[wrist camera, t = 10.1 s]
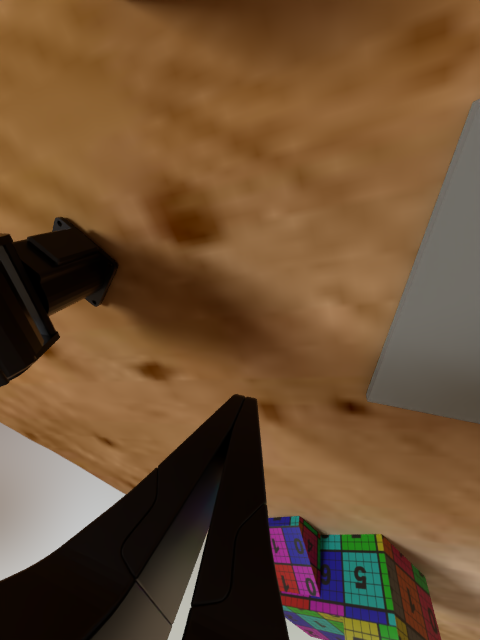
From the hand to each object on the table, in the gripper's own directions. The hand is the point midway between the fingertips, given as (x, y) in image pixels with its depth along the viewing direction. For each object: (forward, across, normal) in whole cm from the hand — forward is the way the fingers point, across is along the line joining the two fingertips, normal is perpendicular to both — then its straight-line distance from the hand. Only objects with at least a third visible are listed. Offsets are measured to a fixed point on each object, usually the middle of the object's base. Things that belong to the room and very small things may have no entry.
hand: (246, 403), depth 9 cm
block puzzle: (+12, -9, +46) cm, 48 cm away
